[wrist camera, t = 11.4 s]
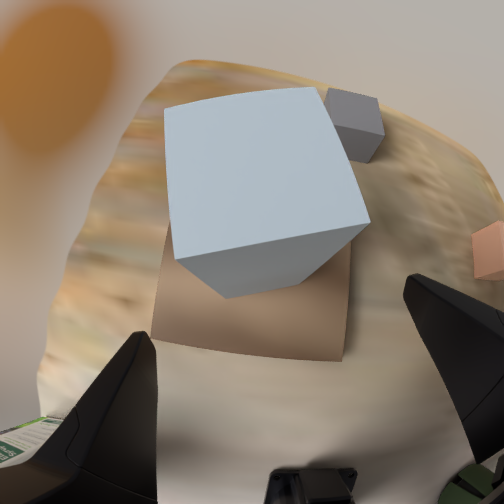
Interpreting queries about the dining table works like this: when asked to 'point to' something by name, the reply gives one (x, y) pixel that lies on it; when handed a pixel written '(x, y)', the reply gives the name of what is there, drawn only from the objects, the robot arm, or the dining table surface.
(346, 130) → the charcoal block
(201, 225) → the slate block
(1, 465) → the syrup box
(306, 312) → the walnut board
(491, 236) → the terracotta block
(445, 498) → the character mug
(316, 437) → the dining table surface
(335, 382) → the dining table surface
